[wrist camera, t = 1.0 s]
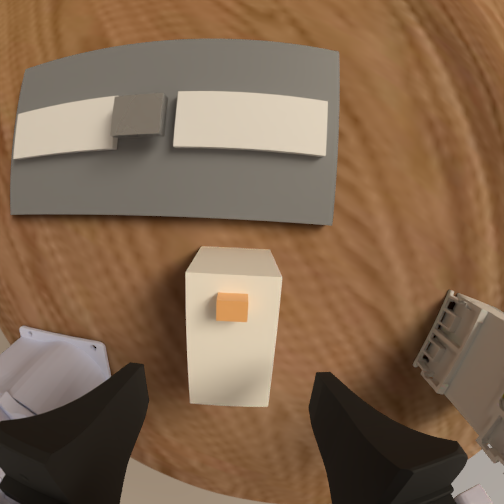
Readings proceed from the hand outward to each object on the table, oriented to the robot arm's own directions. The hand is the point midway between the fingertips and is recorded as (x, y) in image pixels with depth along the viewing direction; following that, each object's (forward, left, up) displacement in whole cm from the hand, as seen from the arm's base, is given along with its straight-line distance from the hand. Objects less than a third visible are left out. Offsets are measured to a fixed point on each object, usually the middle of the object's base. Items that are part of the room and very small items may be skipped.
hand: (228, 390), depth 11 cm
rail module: (0, 0, -9) cm, 9 cm away
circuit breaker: (+24, -4, -10) cm, 26 cm away
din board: (-6, +12, -9) cm, 16 cm away
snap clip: (-6, +12, -7) cm, 15 cm away
